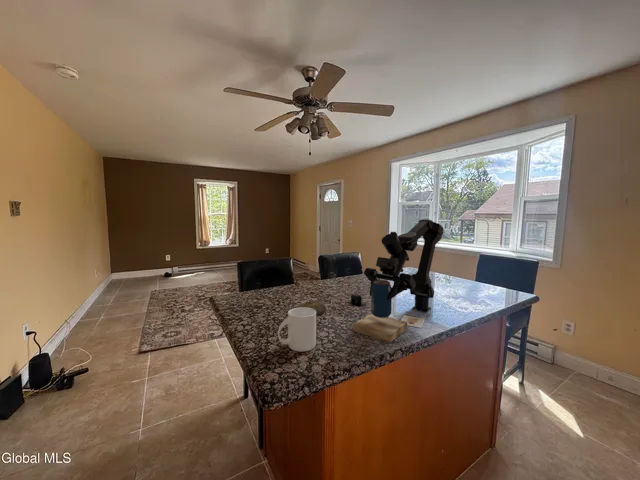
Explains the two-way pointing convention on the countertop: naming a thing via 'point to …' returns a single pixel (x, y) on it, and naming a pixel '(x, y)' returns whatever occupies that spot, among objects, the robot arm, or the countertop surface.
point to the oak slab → (380, 327)
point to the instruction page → (413, 321)
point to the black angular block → (356, 300)
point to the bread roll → (314, 307)
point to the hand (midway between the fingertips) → (379, 297)
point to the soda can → (380, 299)
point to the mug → (300, 329)
